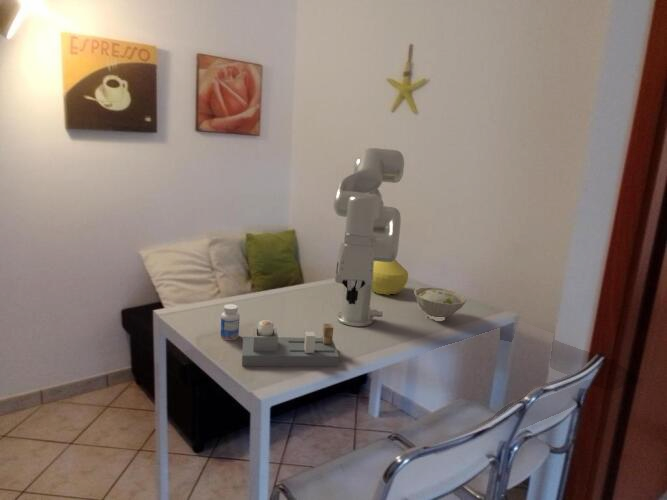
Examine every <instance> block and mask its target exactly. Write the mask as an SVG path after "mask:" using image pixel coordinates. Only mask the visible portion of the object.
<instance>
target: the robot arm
mask: <svg viewBox="0 0 667 500" xmlns="http://www.w3.org/2000/svg"><path fill="white" fill-rule="evenodd" d="M404 157H405V156H404V155H403V153H402V152H401V151H399V150H397V149H386V148H380V147H379V148H377V147H371V148H367V149H365V150H363V152H361V154H360V156H359V157H357V159H356V160H355V161H354V168H353V173H351V174H349V175H348V176H346V177H344V178H343V179H342V180H341V181H340V182H339V185H338V186H337V189H336V192H335V196H334V201H333V209H334V213H335V214H336V215H337V216H340V217H345V218H346V221H345V231H344V241H343V242H340V246H339V249H338V253H337V260H336V265H335V274H336V275H335V277H334V281H335V283H337V284H341V285H343V294H342V305H341V311H339V312H338V313H337V314H336V320H337V322H340V323H341V324H344V325H347V326H350V327H351V326H352V327H366V326H369V325H371V324H373V318H374V317H377V318H382V317H383V311H382V310H381V311H379V310H378V309H375V308H374V309H371V298H372V292H373V291H372V283H373V267H374V262H375V261H380V262H392V261H394V260H396V258H397V256H398V251H399V246H400V245H399V241H400V234H401V232H400V231H401V224H402V223H401V221H402V219H401V212H400V211H399V209H398V208H396V207H393V206H386V205H384V201H383V199H382V193H381V191H380V189H379V188H380V187H381V185H382V183H383V182H384V183H390V184H391V183H393V184H394V183H399V182H400V181H401V180H402V178H403V176H404V169H405V158H404Z"/></svg>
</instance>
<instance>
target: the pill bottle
mask: <svg viewBox="0 0 667 500" xmlns="http://www.w3.org/2000/svg"><path fill="white" fill-rule="evenodd" d="M238 308H239V307H238V305H236V304H232V303H229V304H225V305H224V306H223V312H222V313H221V315H220V338H221V339H223V340H225V341H233V340H237V339H238V338H239V336H240V321H241V320H240V318H241V317H240V313H239V312H238V311H239V310H238Z"/></svg>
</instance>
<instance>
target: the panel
mask: <svg viewBox="0 0 667 500" xmlns="http://www.w3.org/2000/svg"><path fill="white" fill-rule="evenodd" d="M258 330H259V327H253V336H243V337H242V357H241V366H242V367H338V366H339V360H340V356H339V355H340V354H339V353H338V350H337V347H336V344H335V343H334V340H333V339H332V344H324V343H323V340H322V337H315V346H314V353H305V350H304V343H305V337H290V336H289V337H280V336H279V334H278V328H277V327H273V336H258ZM337 365H338V366H337Z"/></svg>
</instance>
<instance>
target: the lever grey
mask: <svg viewBox="0 0 667 500" xmlns="http://www.w3.org/2000/svg"><path fill="white" fill-rule="evenodd" d="M304 334H305V335H304V338H305V343H304V350H305V353H314V346H315V338H316V334H315V331H305V333H304Z"/></svg>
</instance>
